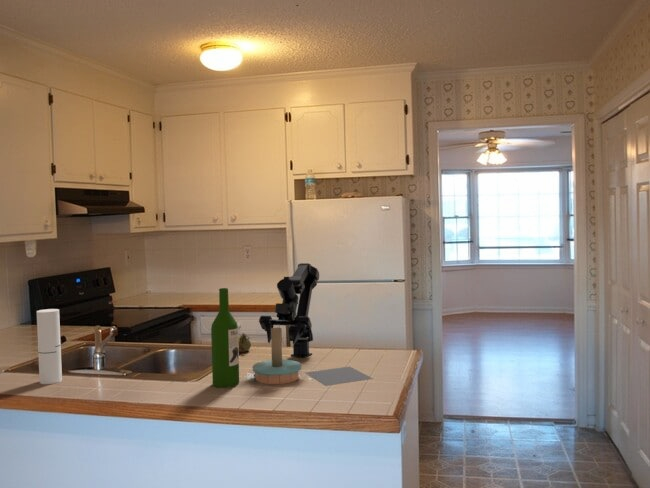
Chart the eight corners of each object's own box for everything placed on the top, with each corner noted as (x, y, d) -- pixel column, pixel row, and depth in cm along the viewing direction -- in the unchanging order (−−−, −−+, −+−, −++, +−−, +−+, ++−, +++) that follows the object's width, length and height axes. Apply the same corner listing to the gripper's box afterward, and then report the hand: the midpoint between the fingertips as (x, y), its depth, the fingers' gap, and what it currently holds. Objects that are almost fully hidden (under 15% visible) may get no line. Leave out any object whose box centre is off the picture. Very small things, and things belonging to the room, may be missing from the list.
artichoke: (253, 349, 251) (253, 330, 250) (249, 353, 243) (249, 334, 242) (236, 349, 251) (236, 330, 251) (231, 353, 244) (231, 334, 243)
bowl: (273, 370, 216) (273, 361, 215) (307, 376, 207) (307, 366, 207) (246, 380, 203) (246, 370, 203) (281, 387, 195) (280, 376, 195)
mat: (304, 373, 211) (304, 372, 211) (349, 367, 219) (349, 366, 219) (325, 386, 195) (325, 385, 195) (373, 379, 202) (373, 378, 202)
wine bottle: (231, 388, 194) (228, 290, 192) (207, 386, 197) (204, 289, 195) (244, 381, 202) (241, 287, 201) (221, 379, 205) (218, 286, 204)
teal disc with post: (293, 360, 216) (292, 322, 215) (307, 372, 200) (307, 331, 199) (248, 365, 210) (247, 326, 210) (258, 377, 194) (257, 335, 194)
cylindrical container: (66, 379, 209) (63, 309, 208) (51, 384, 202) (48, 312, 201) (50, 377, 211) (47, 308, 210) (34, 383, 204) (31, 311, 203)
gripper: (259, 293, 216) (250, 329, 206) (309, 294, 212) (301, 331, 202) (267, 311, 224) (258, 346, 214) (314, 312, 220) (308, 348, 210)
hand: (281, 343), depth 210 cm, fingers open, 9 cm apart
